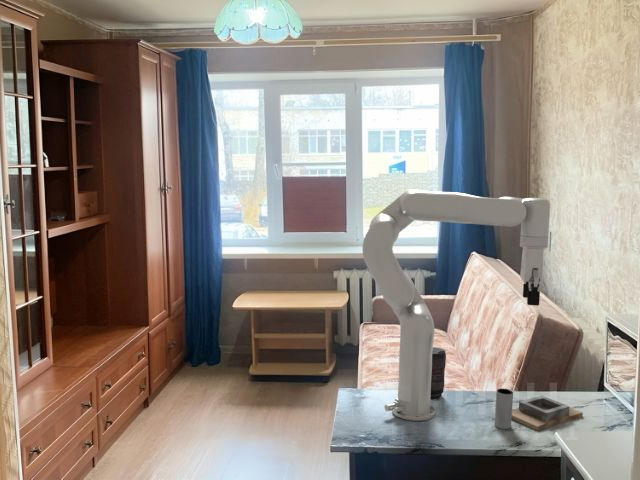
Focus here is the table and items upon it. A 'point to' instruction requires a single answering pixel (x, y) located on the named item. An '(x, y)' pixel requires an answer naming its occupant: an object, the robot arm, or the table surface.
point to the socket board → (543, 413)
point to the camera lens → (437, 373)
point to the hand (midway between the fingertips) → (530, 301)
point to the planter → (503, 408)
